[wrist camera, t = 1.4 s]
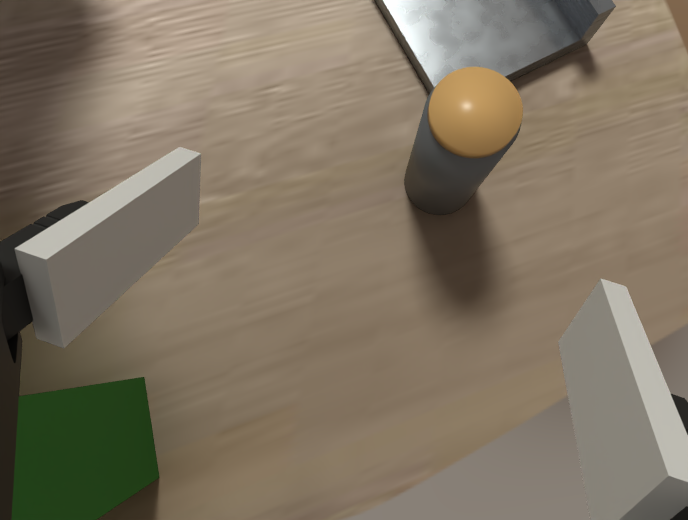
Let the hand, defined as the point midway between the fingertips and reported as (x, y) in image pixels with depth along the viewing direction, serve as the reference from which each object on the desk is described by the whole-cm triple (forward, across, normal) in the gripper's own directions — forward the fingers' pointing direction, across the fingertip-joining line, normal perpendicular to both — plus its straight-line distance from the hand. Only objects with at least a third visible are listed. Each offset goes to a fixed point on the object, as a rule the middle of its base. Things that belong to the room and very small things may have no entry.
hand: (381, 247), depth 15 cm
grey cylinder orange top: (+23, +2, -7) cm, 25 cm away
